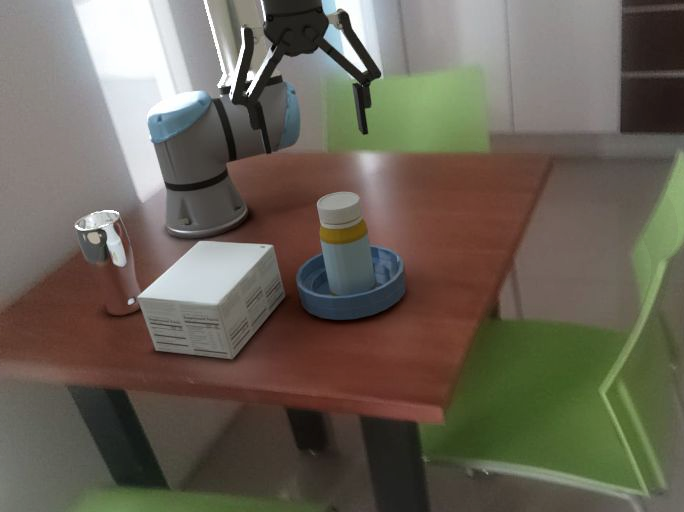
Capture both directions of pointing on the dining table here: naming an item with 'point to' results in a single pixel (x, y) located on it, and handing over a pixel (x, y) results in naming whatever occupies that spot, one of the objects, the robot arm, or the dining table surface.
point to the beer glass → (110, 259)
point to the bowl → (358, 305)
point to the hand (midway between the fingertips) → (316, 141)
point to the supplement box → (213, 299)
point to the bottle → (345, 244)
